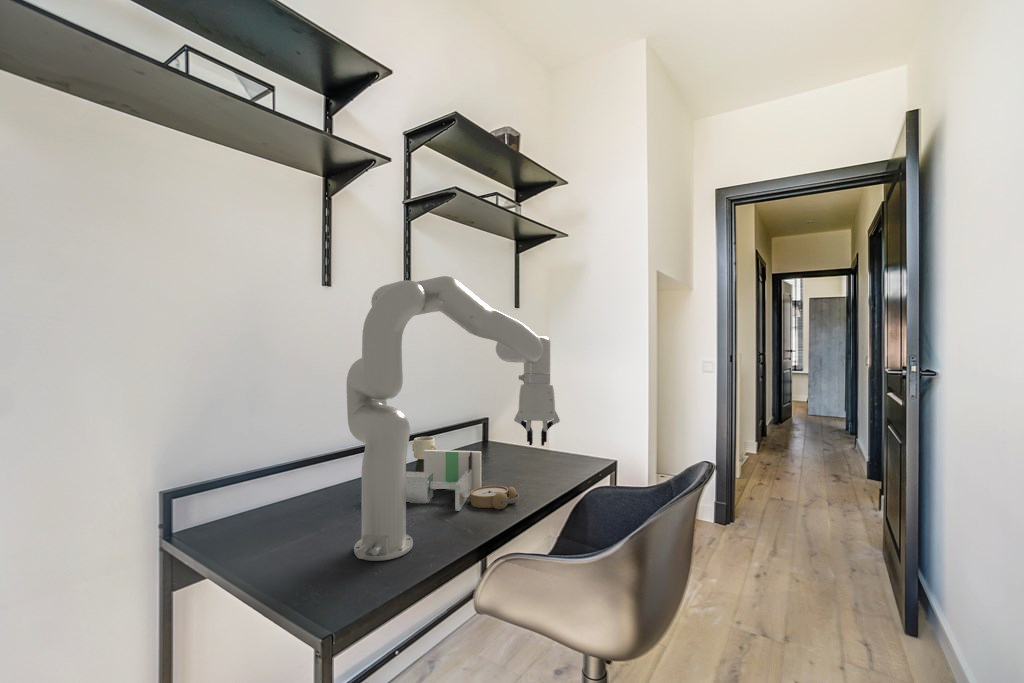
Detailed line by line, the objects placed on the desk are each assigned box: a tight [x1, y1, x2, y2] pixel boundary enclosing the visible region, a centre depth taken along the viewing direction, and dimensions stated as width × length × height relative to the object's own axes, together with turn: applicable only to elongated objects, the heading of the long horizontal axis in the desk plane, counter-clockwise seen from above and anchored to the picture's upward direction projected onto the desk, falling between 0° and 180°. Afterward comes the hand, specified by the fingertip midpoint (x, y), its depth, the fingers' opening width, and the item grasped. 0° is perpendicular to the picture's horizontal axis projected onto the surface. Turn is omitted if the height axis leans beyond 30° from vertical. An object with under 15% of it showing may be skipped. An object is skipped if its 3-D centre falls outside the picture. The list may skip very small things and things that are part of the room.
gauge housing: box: [406, 471, 434, 504], centre depth 135 cm, size 6×13×7 cm, turn 83°
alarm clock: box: [467, 485, 520, 511], centre depth 132 cm, size 11×5×15 cm
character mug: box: [411, 436, 438, 472], centre depth 158 cm, size 11×7×13 cm, turn 57°
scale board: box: [424, 449, 482, 491], centre depth 144 cm, size 1×18×12 cm, turn 83°
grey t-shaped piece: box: [429, 456, 472, 512], centre depth 134 cm, size 17×11×11 cm, turn 173°
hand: (536, 444), depth 131 cm, fingers open, 2 cm apart
